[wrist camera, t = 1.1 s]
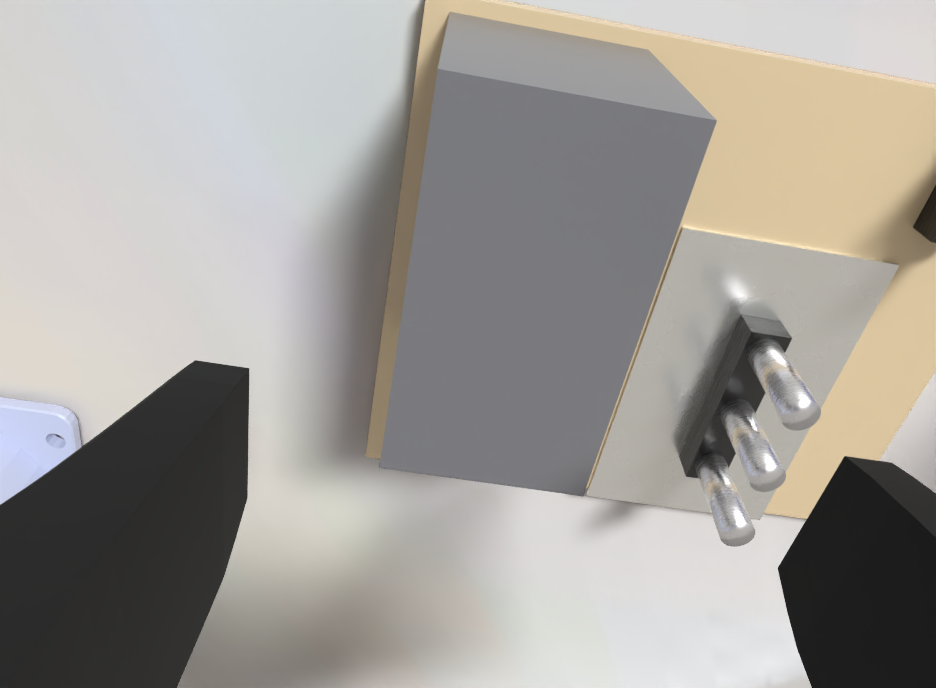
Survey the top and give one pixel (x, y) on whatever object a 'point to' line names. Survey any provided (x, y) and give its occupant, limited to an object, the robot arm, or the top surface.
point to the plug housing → (535, 250)
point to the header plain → (928, 218)
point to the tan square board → (761, 207)
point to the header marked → (734, 374)
